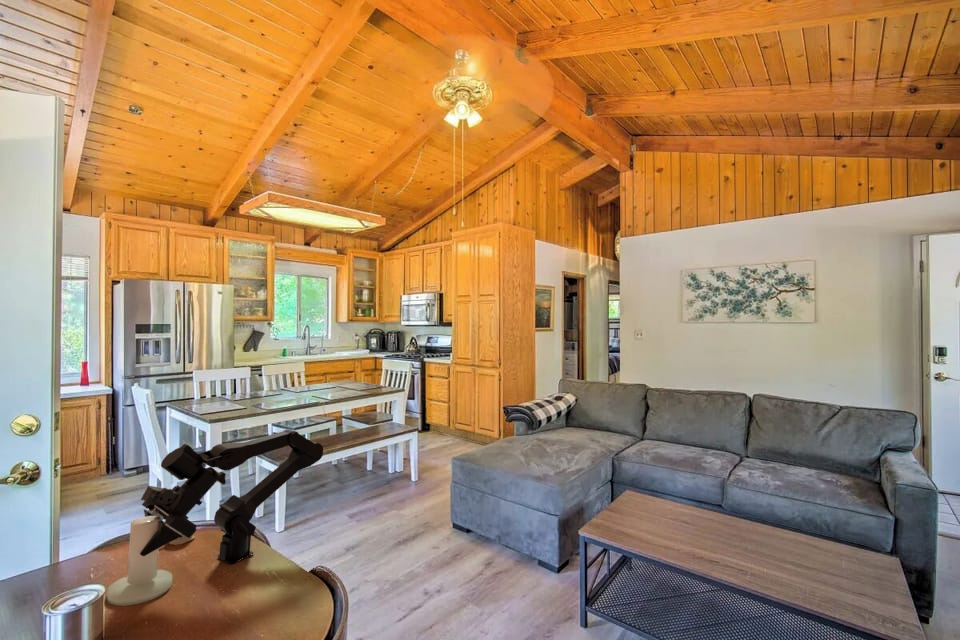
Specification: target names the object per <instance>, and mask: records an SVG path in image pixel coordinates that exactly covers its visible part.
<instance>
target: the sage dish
mask: <svg viewBox="0 0 960 640" xmlns="http://www.w3.org/2000/svg"><path fill="white" fill-rule="evenodd" d="M172 585H173V574H172V572H171V571H167V570H165V569H158V571H157V576H156V577H155V578H154V579H152V580H150V581H148V582H145V583H141V584H129V583H127V575H126V576H124V577H121V578H119V579H118V580H116V581H115V582H113V583H112V584H111V585H109V587H108V588H107V590H106V591H107V592H106V601H107V602H108V604H111V605H113V606H117V607H119V606H121V607H124V606H125V607H126V606H133V605H138V604H143V603H146V602H149V601H152V600H154V599H157V598H158V597H161V596H162V595H163V594H165V593H166V592H167V591H169V589H171V587H172Z"/></svg>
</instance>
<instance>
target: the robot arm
mask: <svg viewBox="0 0 960 640" xmlns="http://www.w3.org/2000/svg"><path fill="white" fill-rule="evenodd" d="M286 447H289V448H290V449H291V451H290V453H289V455H288V457H287V458H286V459H285V460H284V461H283V462H282V463H281V464H280V465H279V466H277V467H276V468H275V469H274V470H273V471H272V472H271V473H269V474H268V475H266V476H265V477H264V478H263V479H262V480H261V481H260V482H258V483H257V484H256V485H255V486H254V487H252V488H251V489H250V490H249V491H248V492H247V493H245V494H244V495H242V496H237V495H235V494H233V495H231V496H230V497H229V498H228V499H227V500H226V501H225V502H223V503H222V504H219V508H217V510H216V512H215V513H214V514H215V515H214V517H213V518H214V519H213V521H214V524H215V525H216V526H217V528H219V529H220V531H221V532H224V533H225V534H223V535H222V536H221V537H222V538H221V542H220V544H219V553H218V555H217V556H216V558H217V557H218V558H217V559H219V558H220V559H219V560H221V559H222V560H221V561H223V560H224V562H225V561H226V562H225V563H227V562H228V564H229V563H231V564H230V565H233V564H235V563H234V562H236V561H238V560H240V559H242V558H244V557H247V556H249V555H251V554H253V553H255V552H253V551H252V550H251V542H252V541H251V540H252V536H253V535H254V534H255V531H256V529H257V526H255V525H254V524H253V523H252V522H250V521H251V520H252V518H253V517H254V515H255V513H256V511H257V508H258V507H259V506H261V505H262V504H263V503H264V502H265V501H266V500H268V499H269V498H270V497H271V496H272V495H273V494H275V492H276V491H278V490H279V489H280V487H282V486H283V485H285V484H286V483H287V482H288V481H289V480H290V479H292V477H294V476H295V475H296V474H297V473H298V472H300V471H302V470H303V469H306V468H310V467H312V466H313V465H314V464H316V463H317V462H319V461H320V460H321V459H322V457H323V455H324V447H323V445H322V444H321V443H319V442H316V441H313V440H310V439H308V438H306V437H305V436H303V435H302V434H300V433H299V432H298V431H296V430H293V429H285V430H283V431H280V432H275V433H273V434H270V435H269V434H268V435H265V436H262V437H258V438H255V439H251V440H249V441H245V442H225V443H218V444H216V445H214V446H213V447H212V448H211V449H209V450H208V449H207V450H204V451H201V452H196V451H195V450H194V449H193V447H191V446H190V445H189V444H187V443H184V444H182V445H181V446H180V447H178V448H176V449H174V450H172V451H171V452H169V453H167V454H166V455H165V457H163V460H162V461H161V463H160V467H161V469H164V470H165V471H166V472H168V473H169V474H171V475H172V476H173V477H174V478H176V479H178V480H180V481H183V480H186V481H184V482H183V483H182V484H181V485H178V484H177V485H175V486H174V487H173V488H169V489H168V488H167V487H158V486H153V485H147V487H146V489H145V490H144V493H143V495H142V496H141V498H140V501H143V503H141V505H142V507H144V508H145V509H143V513H144V517H146V516H159V517H161V522H160V521H159V522H158V530H157V532H156V533H155V534H154V535H153V537H152V538H151V539H150V541H149V542H148V543H147V544H146V546H145V547H144V548H143V550H142V551H141V553H140V555H142V556H146V555H147V554H149V553H151V552H153V551H154V550H156V549H158V548H159V549H160V548H162V547H164V546H165V545H167V544H169V542H171V541H173V540H175V539H177V538H182V537H183V536H182V535H181V534H183V535H185V536H186V537H188V538H189V539H190V537H191V536H194V534H195V533H196V532H197V524H195V523H194V522H192V521H191V520H189V519H190V518H189V516H187V515H188V514H189V513H190V512H191V511H192V510H193V509H194V508H195V506H199V507H200V506H201V505H202V503H203V501H202V499H203V497H204V496H206V494H207V493H208V492H209V491H210V489H212V487H214V485H215V484H216V483H217V482H218V483H219V484H221V485H223V486H224V485H226V482H227V480H226V474H227V473H226V472H225V471H231V470H233V469H235V468H237V467H239V466H241V465H243V464H244V463H246V462H247V461H248V460H249V459H252V458H254V457H257V456H260V455H264V454H266V453H270V452H273V451H277V450H279V449H282V448H286ZM203 464H204V465H206V466H208V467H204V465H203ZM214 468H217V469H220V470H221V471H220V472H219V471H217V470H216V469H214ZM223 471H224V472H223ZM146 509H147V510H146ZM253 555H254V554H253ZM251 556H252V555H251ZM249 557H250V556H249ZM247 558H248V557H247ZM242 560H243V559H242ZM240 561H241V560H240ZM238 562H239V561H238ZM232 563H233V564H232ZM236 563H237V562H236Z"/></svg>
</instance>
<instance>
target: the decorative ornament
mask: <svg viewBox="0 0 960 640" xmlns="http://www.w3.org/2000/svg"><path fill="white" fill-rule="evenodd" d="M181 535H182V536H183V537H182V538H177V539H175V540H173V541H171V542H169V543H168V544H169V545H172V544H174V545H173V546H177V544H180V545H182V544H184V543H185V544H186V543H187V542H190V541H192V540H194V539H195V536H194V535H192V536H191V537H190V539H189V538H188V537H186V536H185V535H183V534H181Z"/></svg>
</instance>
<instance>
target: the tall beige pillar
mask: <svg viewBox="0 0 960 640" xmlns="http://www.w3.org/2000/svg"><path fill="white" fill-rule="evenodd" d="M159 521H160V522H161V517H159V516H146V517H145V516H142V517H138V518H135V519H134V520H132V521H131V522H130V531H129V545H128V546H129V547H128V561H127V564H128V565H127V574H126V576H127V583H129V584H141V583H145V582H148V581H150V580H152V579H154V578H155V577H156V576H157V571H158V570H159V569H158V567H159V552H160V548H158V549H156V550H154V551H153V552H151V553H149V554H147V555H146V556H142V555H140V553H141V551H142V550H143V548H144V547H145V546H146V544H147V543H148V542H149V541H150V539H151V538H152V537H153V535H154V534H155V533H156V532H157V530H158V522H159Z"/></svg>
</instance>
